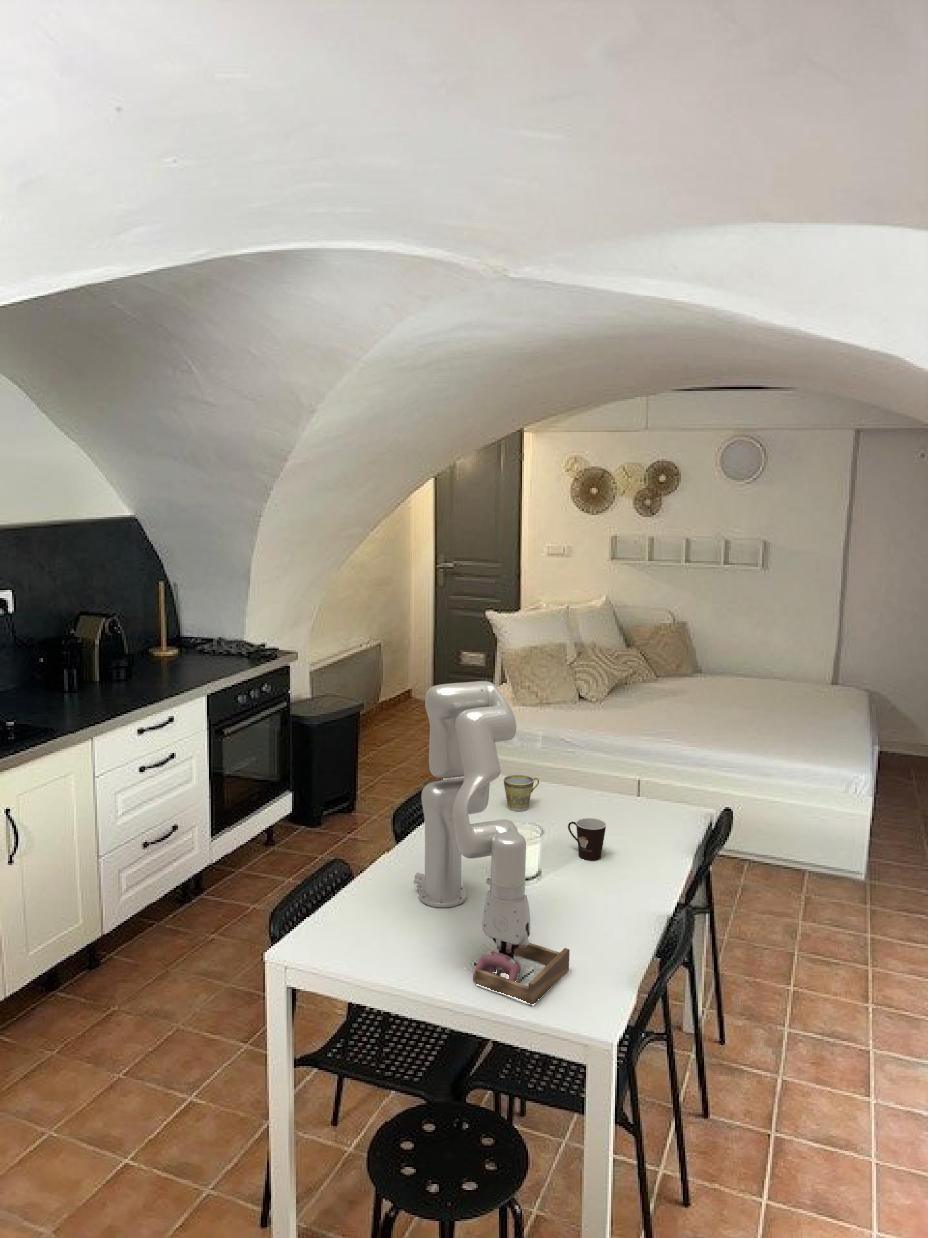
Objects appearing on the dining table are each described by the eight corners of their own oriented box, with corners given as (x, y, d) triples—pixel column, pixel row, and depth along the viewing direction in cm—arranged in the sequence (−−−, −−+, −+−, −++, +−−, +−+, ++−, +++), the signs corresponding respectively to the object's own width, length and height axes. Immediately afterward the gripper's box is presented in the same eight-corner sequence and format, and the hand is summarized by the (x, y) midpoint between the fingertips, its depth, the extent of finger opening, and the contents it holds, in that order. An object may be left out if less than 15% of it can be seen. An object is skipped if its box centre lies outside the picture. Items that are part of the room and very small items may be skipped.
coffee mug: (610, 860, 264) (611, 827, 262) (584, 864, 260) (585, 831, 259) (590, 844, 274) (591, 813, 273) (564, 848, 271) (565, 816, 269)
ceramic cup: (513, 815, 296) (513, 786, 295) (497, 805, 305) (498, 777, 303) (546, 809, 302) (547, 780, 301) (530, 799, 311) (530, 771, 309)
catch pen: (475, 985, 199) (475, 964, 198) (513, 951, 213) (514, 931, 212) (532, 1006, 191) (533, 984, 190) (568, 970, 205) (569, 949, 205)
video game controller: (518, 993, 199) (525, 959, 201) (510, 993, 195) (517, 959, 197) (478, 980, 204) (485, 947, 206) (469, 980, 200) (477, 947, 202)
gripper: (470, 886, 202) (468, 963, 205) (529, 904, 194) (527, 984, 197) (487, 874, 208) (486, 949, 211) (545, 891, 200) (543, 968, 203)
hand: (506, 965), depth 204 cm, fingers closed
